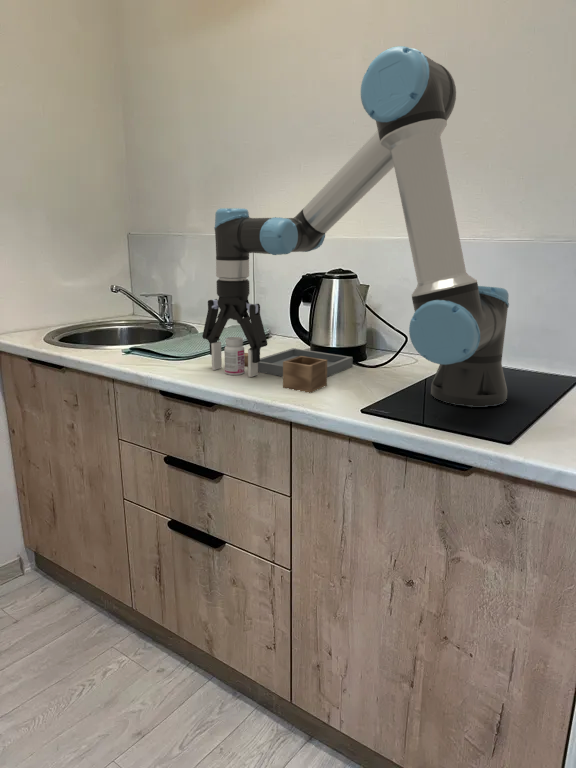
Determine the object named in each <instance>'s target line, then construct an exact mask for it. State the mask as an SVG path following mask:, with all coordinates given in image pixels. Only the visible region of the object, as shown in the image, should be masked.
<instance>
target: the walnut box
mask: <svg viewBox="0 0 576 768" xmlns="http://www.w3.org/2000/svg"><path fill="white" fill-rule="evenodd" d="M324 386H325V387H326V386H328V377H327V360H324V359H318V358H312V357H306V356H298V357H295V358H293V359H290V360H287V361H284V362H283V376H282V388H283V389H287V388H289V389H288V390H292V389H294V391H297V390H300V391H299V392H302V391H305V392H304V393H307V392H309V393H308V394H311V393H313V391H314V392H316V391H317V389H318V390H320V389H322V387H323V388H325V387H324ZM315 390H316V391H315ZM310 392H311V393H310Z"/></svg>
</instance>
